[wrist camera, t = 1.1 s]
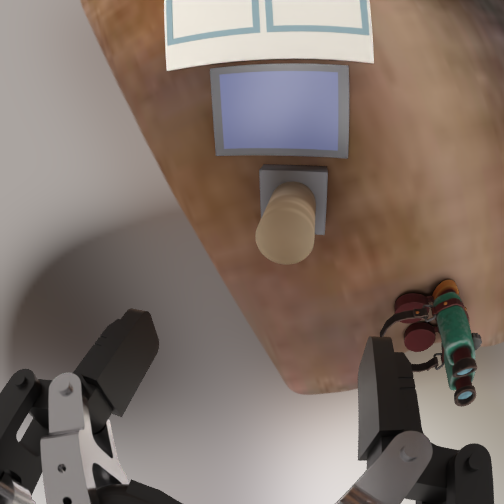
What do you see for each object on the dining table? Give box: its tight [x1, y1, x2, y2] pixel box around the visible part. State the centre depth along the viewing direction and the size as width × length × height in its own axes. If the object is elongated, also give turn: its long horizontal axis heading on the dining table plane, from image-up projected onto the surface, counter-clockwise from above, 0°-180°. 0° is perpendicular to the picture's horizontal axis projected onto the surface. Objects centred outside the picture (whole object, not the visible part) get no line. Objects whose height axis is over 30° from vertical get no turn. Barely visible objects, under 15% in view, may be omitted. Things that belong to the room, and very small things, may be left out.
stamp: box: [256, 164, 328, 264], centre depth 21 cm, size 5×5×8 cm
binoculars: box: [380, 280, 482, 406], centre depth 23 cm, size 9×11×10 cm
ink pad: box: [210, 64, 349, 159], centre depth 20 cm, size 10×7×2 cm
